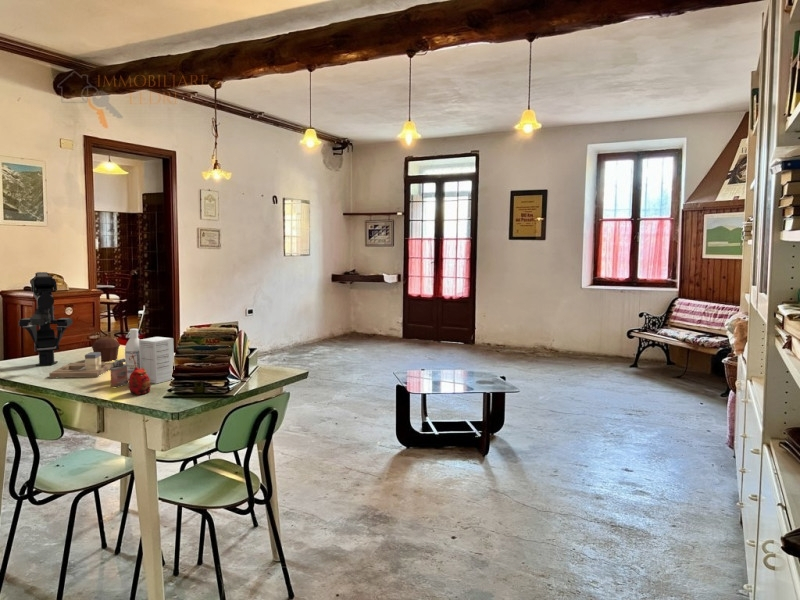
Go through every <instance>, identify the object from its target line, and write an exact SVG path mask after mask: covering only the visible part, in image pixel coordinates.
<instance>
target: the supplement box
mask: <svg viewBox="0 0 800 600" xmlns="http://www.w3.org/2000/svg"><path fill="white" fill-rule="evenodd" d="M174 351H175V350H174V338H173V337H164V336H153V337H147V338H143V339H140V340H139V355H140V369H142V368H143V369H144V370H145V371H146V373H147V375H148V377H149V379H150V384H159V383H160V384H161V383H163V382H164V383H165V382H169V381H172V380H173V379H172V368H173V360H174V361H175V352H174ZM171 379H172V380H171Z"/></svg>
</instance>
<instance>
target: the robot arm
mask: <svg viewBox="0 0 800 600" xmlns="http://www.w3.org/2000/svg"><path fill="white" fill-rule="evenodd" d="M34 275H35V276H34V277H33V278H31V279H30V291H31V293H33V297H34V298H35V300H36V308H35V313H34V314H32V316H30V317H25V318H21V319H20V320H19V321H18V327H21V328H22V329H25V330H26V331H27V332H28V334H29V336H30V337H31V339H32V342H33V343H34V352H35V353H37V352H38V363H36V364H35V366H53V365H55V364H57V363H58V361H57V360H56V361H55V351H58V350H60V342H61V341H62V337H63V336H64V333H65V331H66V329H67V327H70V326H71V325H73V324H74V323H73V322H74V321H73V319H72V318H71V317H61V318H58V319H56V316H55V315H54V314H55V313H54V311H56V310H55V309H56V307H54V304H55V299H54V295H53V293H56V291H58V284H57V280H56V279H55V278H53V277H54V276H53V275H50V273H49V272H47V271H46V272H45V271H44V272H41V271H37V272H35V274H34ZM51 325H56V326H55V329H56V330H57V332H55V329H53V328H51ZM37 326H39V328H38V330H37ZM56 334H57V335H56Z"/></svg>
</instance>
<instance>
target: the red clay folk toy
mask: <svg viewBox="0 0 800 600" xmlns="http://www.w3.org/2000/svg"><path fill="white" fill-rule="evenodd" d="M131 354H132V353H131ZM135 356H136V355H135ZM130 357H131V358H130ZM130 357H129V360H131V359H132V358H133V360H134V364H135V369H134V371H133V372H132V373H131V375H130V379H128V388H129V392H130V394H132V395H133V394H135V395H136V396H140V395H143V394H148V393H150V391H151V388H152V387H151V386H152V385H151V383H150V379H149V377H148V375H147V373H146V371H145V370H144V369H143V368H142V369H138V368H137V366H136V362H135V359H134V355H133V354H132V356H130ZM135 395H134V396H135Z"/></svg>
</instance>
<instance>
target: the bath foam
mask: <svg viewBox="0 0 800 600" xmlns="http://www.w3.org/2000/svg"><path fill="white" fill-rule="evenodd" d="M138 331H139V329H138V328H130V329H129V339H128V341H127V342H126V344H125V346H124V355H125V356H124V359H125V360H126V362H124V364H128V367H127V374H128V380H129V379H130V375H131V373H132V372H133V371H134V369H135V364H134V360H133V358H132V359H131V360H129V357H130V356H132V354H133V355H134V359H135V362H136V366H137V368H138V369H140V355H139V340H141V339H140V338H139V332H138ZM131 353H132V354H131ZM135 355H136V356H135ZM130 358H131V357H130Z"/></svg>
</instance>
